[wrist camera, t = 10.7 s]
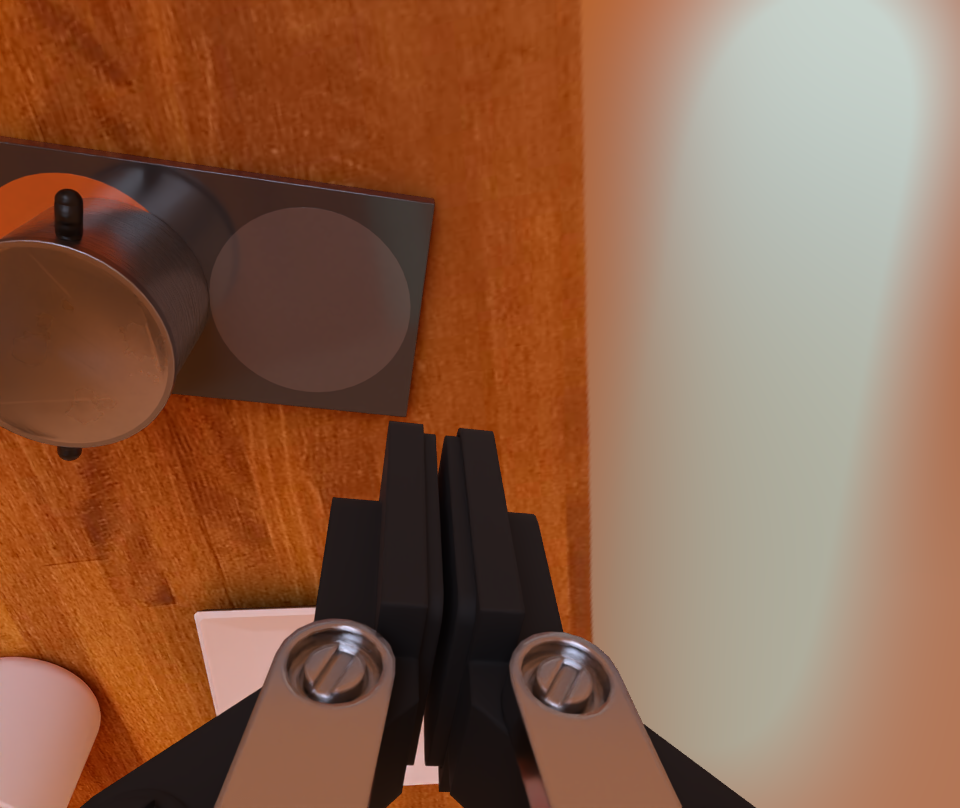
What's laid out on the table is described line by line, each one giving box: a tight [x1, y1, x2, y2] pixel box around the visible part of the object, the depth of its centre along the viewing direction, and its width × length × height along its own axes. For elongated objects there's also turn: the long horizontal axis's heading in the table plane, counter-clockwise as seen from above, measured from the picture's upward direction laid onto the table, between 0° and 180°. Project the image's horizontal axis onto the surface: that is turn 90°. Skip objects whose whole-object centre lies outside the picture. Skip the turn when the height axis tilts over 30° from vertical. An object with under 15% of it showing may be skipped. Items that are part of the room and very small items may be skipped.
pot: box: [0, 188, 209, 461], centre depth 34 cm, size 13×9×7 cm
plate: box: [194, 605, 439, 786], centre depth 52 cm, size 19×19×2 cm
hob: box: [0, 136, 435, 417], centre depth 37 cm, size 12×22×1 cm, turn 81°
